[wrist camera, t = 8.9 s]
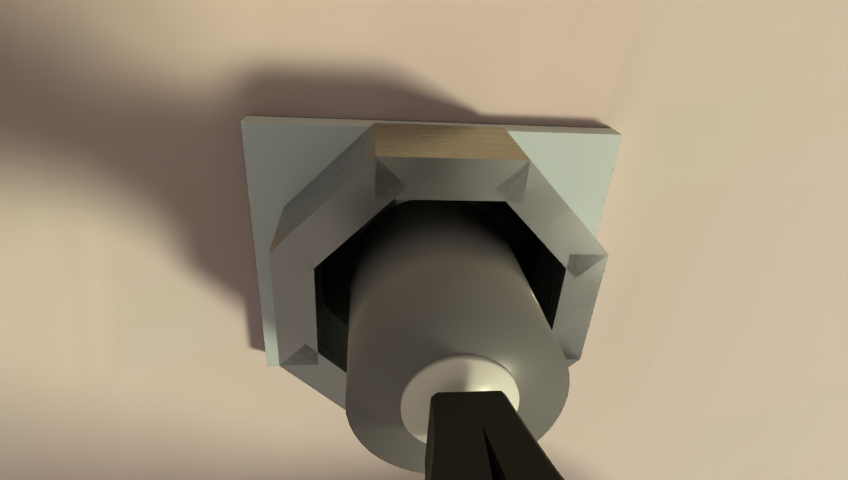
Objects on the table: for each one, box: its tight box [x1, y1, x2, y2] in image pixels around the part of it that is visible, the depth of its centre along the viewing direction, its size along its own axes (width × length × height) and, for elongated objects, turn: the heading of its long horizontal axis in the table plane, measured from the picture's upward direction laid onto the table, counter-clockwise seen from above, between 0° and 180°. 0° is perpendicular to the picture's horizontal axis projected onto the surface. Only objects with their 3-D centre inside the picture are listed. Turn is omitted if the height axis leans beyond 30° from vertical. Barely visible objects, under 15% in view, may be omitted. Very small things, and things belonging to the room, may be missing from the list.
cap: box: [345, 200, 569, 473], centre depth 13 cm, size 5×5×5 cm
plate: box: [240, 116, 622, 366], centre depth 16 cm, size 10×8×1 cm
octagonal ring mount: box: [269, 123, 608, 410], centre depth 14 cm, size 8×8×2 cm
